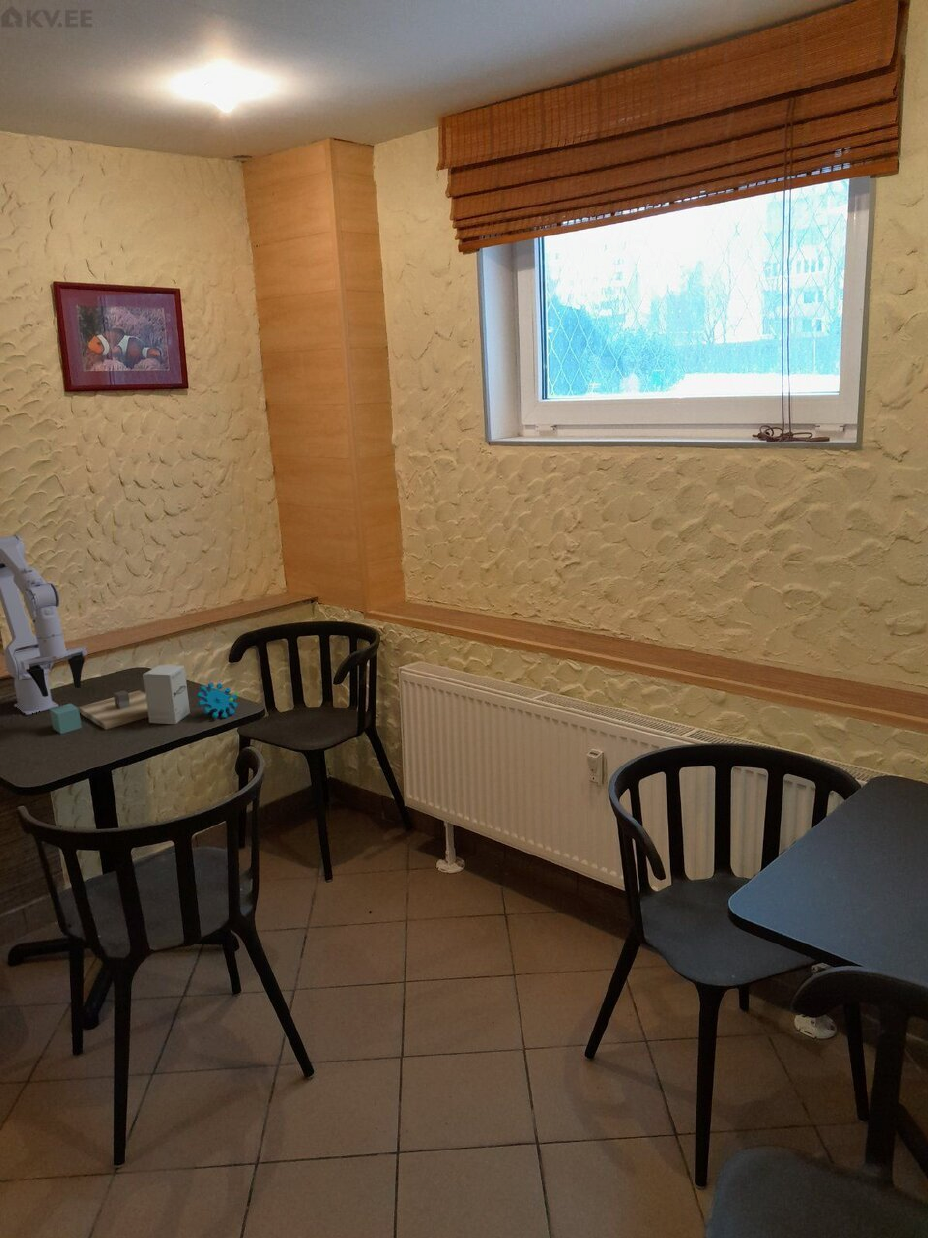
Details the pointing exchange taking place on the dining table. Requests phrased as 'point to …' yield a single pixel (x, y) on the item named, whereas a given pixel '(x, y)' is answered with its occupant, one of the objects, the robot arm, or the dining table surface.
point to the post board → (117, 709)
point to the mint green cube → (65, 718)
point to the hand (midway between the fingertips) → (61, 691)
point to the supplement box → (166, 694)
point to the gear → (217, 700)
